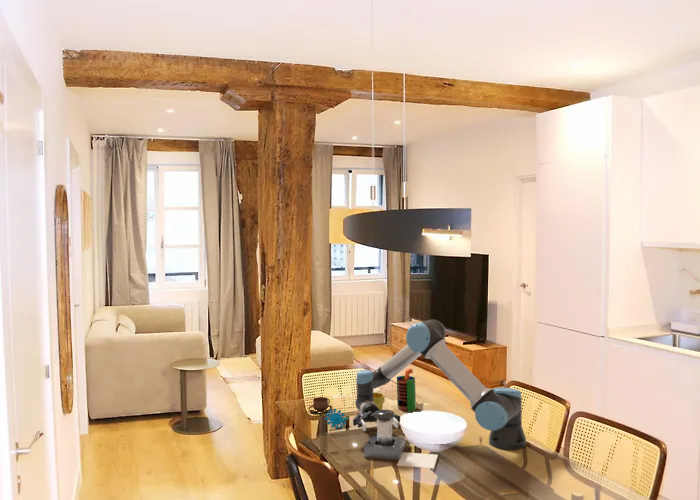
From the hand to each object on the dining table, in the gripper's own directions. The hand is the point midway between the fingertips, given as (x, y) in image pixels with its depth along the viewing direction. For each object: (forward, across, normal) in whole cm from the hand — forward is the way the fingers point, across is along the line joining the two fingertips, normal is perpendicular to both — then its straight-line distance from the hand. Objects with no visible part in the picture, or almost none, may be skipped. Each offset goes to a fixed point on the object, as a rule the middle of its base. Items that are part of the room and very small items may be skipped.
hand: (381, 426), depth 250 cm
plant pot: (-49, -8, -10) cm, 51 cm away
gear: (-36, +12, -11) cm, 39 cm away
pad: (+15, -11, -10) cm, 21 cm away
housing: (+4, 0, -10) cm, 11 cm away
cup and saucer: (-62, +16, -11) cm, 65 cm away
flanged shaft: (+4, 0, -9) cm, 10 cm away
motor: (-55, -26, -11) cm, 62 cm away
